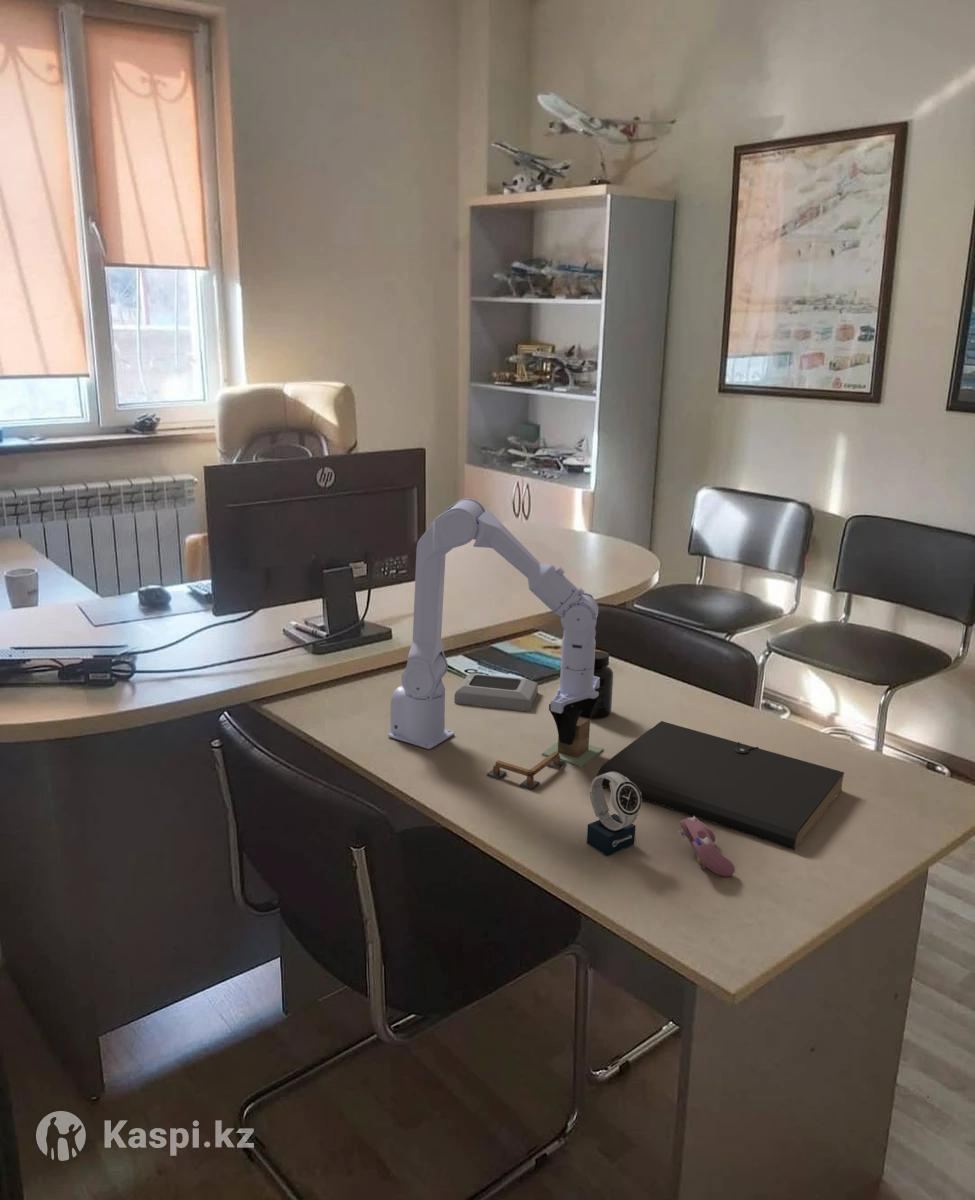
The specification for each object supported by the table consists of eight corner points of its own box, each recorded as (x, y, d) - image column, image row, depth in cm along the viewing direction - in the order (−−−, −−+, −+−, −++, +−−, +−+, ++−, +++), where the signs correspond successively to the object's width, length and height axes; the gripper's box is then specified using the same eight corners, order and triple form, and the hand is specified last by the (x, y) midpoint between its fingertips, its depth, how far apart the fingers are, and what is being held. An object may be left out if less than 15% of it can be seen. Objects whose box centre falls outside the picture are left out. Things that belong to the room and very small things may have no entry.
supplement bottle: (617, 711, 191) (620, 653, 187) (601, 723, 185) (605, 663, 182) (585, 703, 194) (588, 646, 191) (569, 714, 189) (572, 656, 185)
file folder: (845, 769, 161) (795, 832, 142) (842, 792, 162) (792, 856, 143) (661, 718, 179) (596, 767, 160) (660, 739, 180) (595, 790, 161)
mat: (541, 754, 172) (541, 753, 171) (563, 739, 178) (563, 737, 178) (582, 766, 167) (582, 765, 167) (603, 750, 174) (603, 748, 174)
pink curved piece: (687, 851, 145) (670, 814, 143) (715, 838, 145) (698, 801, 143) (709, 889, 136) (690, 850, 134) (738, 875, 136) (721, 836, 133)
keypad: (530, 695, 189) (454, 687, 192) (529, 712, 190) (454, 704, 193) (538, 677, 198) (466, 670, 201) (537, 694, 199) (465, 687, 202)
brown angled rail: (486, 775, 164) (486, 761, 163) (521, 751, 173) (521, 738, 172) (532, 790, 159) (533, 776, 158) (565, 764, 168) (566, 751, 167)
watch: (616, 862, 139) (621, 792, 136) (578, 838, 145) (582, 770, 142) (644, 850, 142) (649, 781, 139) (605, 827, 148) (610, 761, 145)
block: (557, 752, 172) (559, 720, 170) (568, 744, 175) (570, 713, 174) (577, 758, 170) (579, 726, 168) (588, 749, 173) (590, 718, 171)
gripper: (578, 682, 160) (574, 758, 164) (616, 657, 172) (612, 728, 176) (541, 673, 164) (537, 747, 168) (581, 649, 175) (577, 719, 179)
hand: (573, 737), depth 172 cm, fingers open, 5 cm apart
